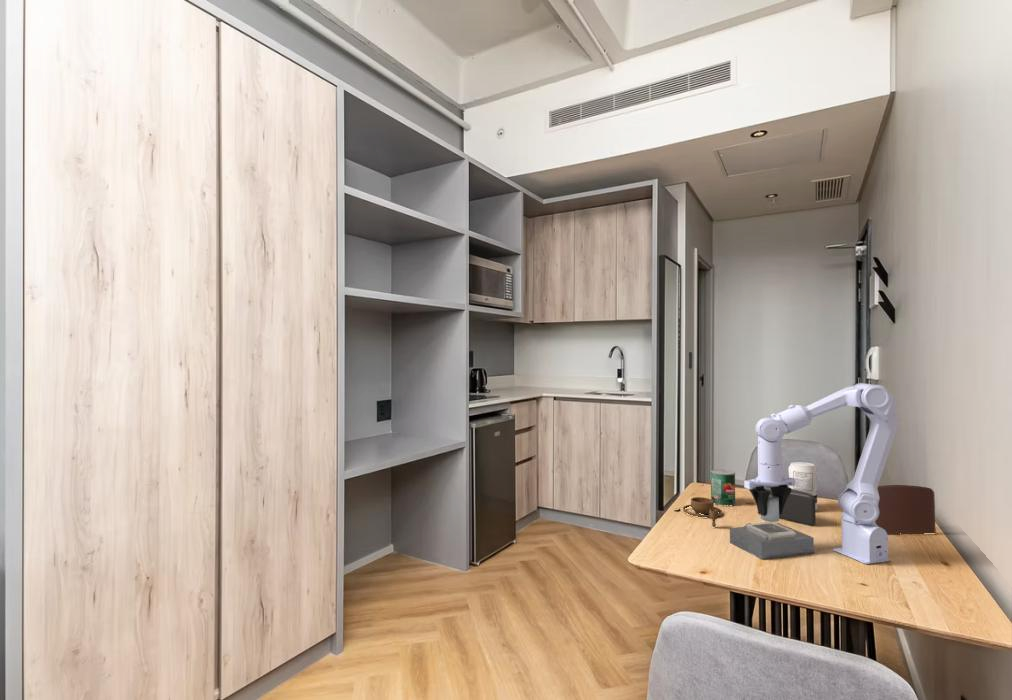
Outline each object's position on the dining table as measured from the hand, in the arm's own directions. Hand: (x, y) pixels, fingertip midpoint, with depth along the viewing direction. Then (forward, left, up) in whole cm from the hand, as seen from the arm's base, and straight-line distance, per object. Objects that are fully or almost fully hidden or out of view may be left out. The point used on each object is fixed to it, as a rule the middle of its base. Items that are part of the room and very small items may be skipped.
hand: (770, 514), depth 137 cm
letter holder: (+3, -44, -9) cm, 45 cm away
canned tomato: (+39, -15, -9) cm, 43 cm away
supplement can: (+26, -36, -9) cm, 45 cm away
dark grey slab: (+18, -22, -9) cm, 30 cm away
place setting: (+28, +2, -10) cm, 30 cm away
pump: (0, 0, -1) cm, 1 cm away
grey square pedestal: (+2, 0, -9) cm, 9 cm away
